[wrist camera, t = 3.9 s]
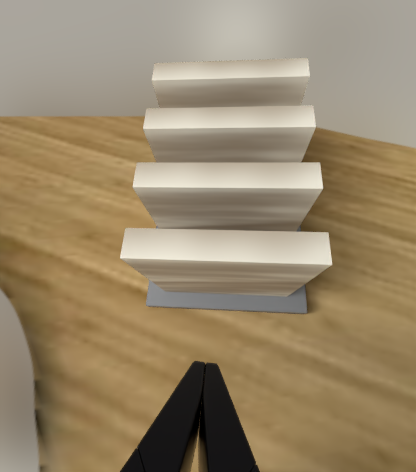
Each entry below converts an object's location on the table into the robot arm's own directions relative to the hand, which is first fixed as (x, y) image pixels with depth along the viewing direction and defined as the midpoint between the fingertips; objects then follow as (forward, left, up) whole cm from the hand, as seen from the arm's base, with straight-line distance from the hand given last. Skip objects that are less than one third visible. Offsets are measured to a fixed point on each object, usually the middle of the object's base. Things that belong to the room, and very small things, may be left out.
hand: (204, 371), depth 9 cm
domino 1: (+4, -3, -12) cm, 13 cm away
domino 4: (+14, -10, -12) cm, 21 cm away
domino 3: (+11, -8, -12) cm, 18 cm away
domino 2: (+7, -6, -12) cm, 15 cm away
